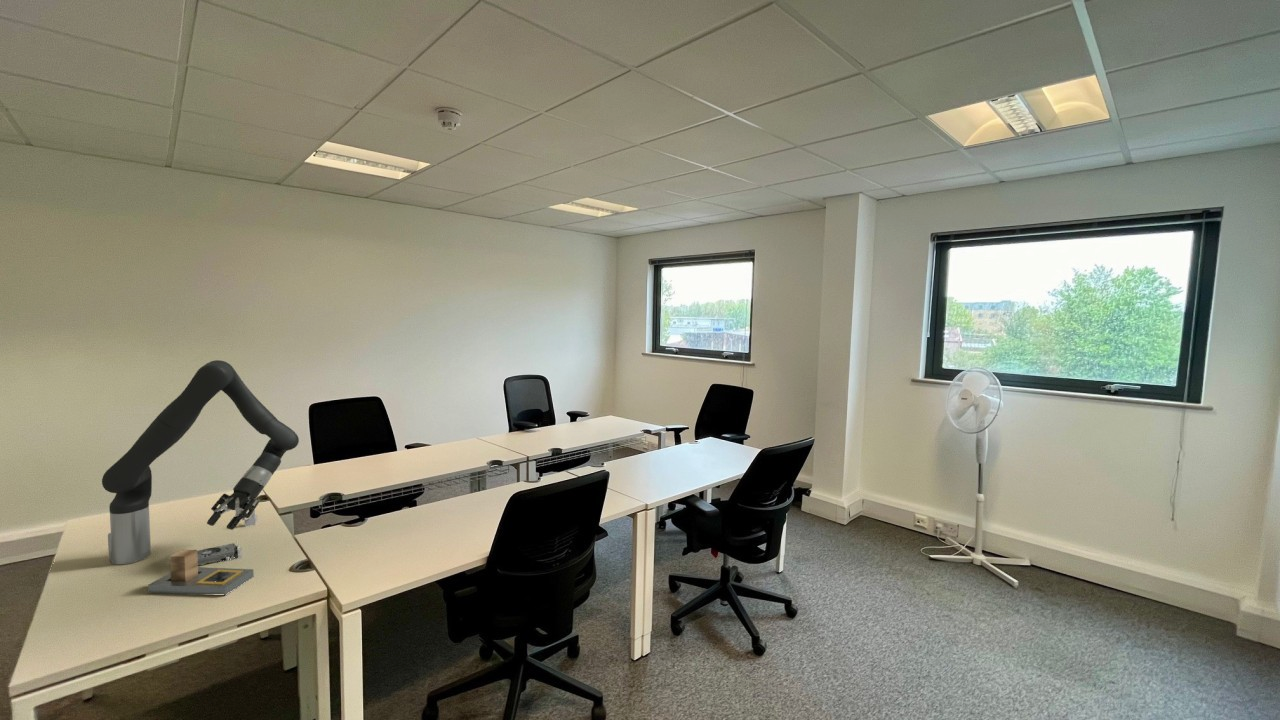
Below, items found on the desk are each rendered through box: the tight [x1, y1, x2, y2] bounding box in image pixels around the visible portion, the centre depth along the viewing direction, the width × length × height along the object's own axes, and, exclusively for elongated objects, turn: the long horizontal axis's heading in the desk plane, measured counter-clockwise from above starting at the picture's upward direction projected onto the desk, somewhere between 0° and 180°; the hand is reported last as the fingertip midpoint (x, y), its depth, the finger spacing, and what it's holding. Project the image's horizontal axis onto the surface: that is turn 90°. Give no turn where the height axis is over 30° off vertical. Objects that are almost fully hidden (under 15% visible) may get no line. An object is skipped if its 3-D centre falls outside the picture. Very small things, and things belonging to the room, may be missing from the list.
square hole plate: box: [147, 566, 255, 596], centre depth 155 cm, size 23×11×3 cm, turn 90°
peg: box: [169, 548, 199, 582], centre depth 155 cm, size 4×4×10 cm
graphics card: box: [197, 541, 243, 566], centre depth 171 cm, size 17×4×12 cm
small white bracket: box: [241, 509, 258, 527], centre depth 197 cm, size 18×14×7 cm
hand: (219, 526), depth 164 cm, fingers open, 8 cm apart
